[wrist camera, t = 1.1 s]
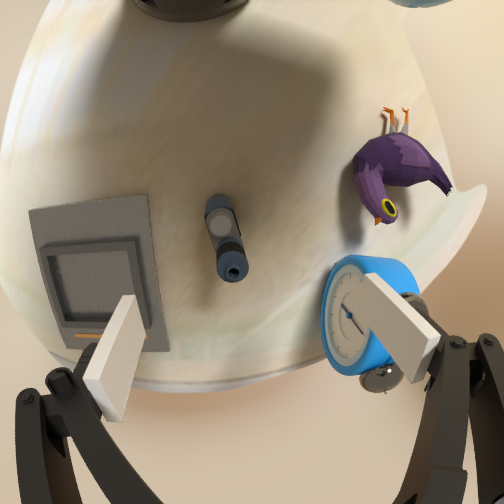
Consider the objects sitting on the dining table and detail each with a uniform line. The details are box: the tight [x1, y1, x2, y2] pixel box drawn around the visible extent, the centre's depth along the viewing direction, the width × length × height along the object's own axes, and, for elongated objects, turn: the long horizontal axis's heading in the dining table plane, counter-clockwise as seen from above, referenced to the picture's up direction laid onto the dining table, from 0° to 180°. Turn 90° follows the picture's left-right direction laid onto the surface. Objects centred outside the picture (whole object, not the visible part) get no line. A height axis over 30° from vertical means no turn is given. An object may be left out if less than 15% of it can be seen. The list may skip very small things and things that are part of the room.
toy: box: [353, 107, 453, 226], centre depth 28 cm, size 11×12×7 cm
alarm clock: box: [321, 255, 430, 394], centre depth 29 cm, size 13×6×15 cm, turn 172°
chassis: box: [29, 194, 170, 351], centre depth 31 cm, size 20×16×2 cm
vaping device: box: [204, 194, 249, 283], centre depth 25 cm, size 3×5×12 cm, turn 16°
